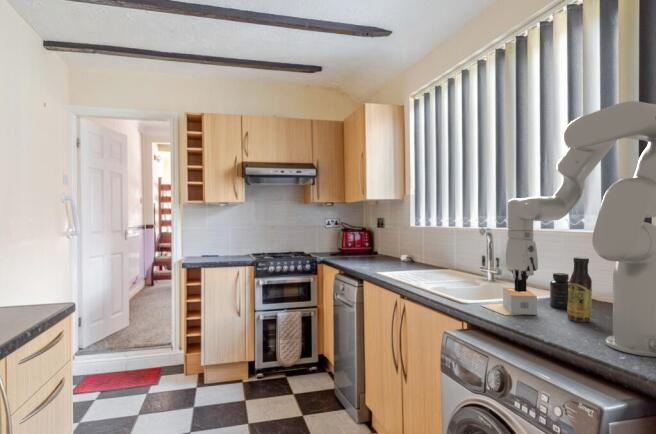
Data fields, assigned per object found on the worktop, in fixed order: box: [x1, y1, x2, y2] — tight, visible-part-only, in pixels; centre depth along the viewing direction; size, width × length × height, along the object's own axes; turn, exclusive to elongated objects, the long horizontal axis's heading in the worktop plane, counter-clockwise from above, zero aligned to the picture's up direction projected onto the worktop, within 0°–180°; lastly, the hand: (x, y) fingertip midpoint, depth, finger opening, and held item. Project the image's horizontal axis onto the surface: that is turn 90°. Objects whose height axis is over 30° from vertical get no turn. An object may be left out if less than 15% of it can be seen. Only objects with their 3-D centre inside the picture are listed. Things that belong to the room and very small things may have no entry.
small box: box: [502, 287, 538, 316], centre depth 133 cm, size 8×6×13 cm
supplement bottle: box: [549, 272, 570, 310], centre depth 138 cm, size 7×7×12 cm
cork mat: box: [479, 303, 526, 317], centre depth 135 cm, size 14×12×1 cm
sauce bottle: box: [566, 256, 593, 323], centre depth 121 cm, size 7×6×20 cm
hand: (520, 291), depth 127 cm, fingers closed
